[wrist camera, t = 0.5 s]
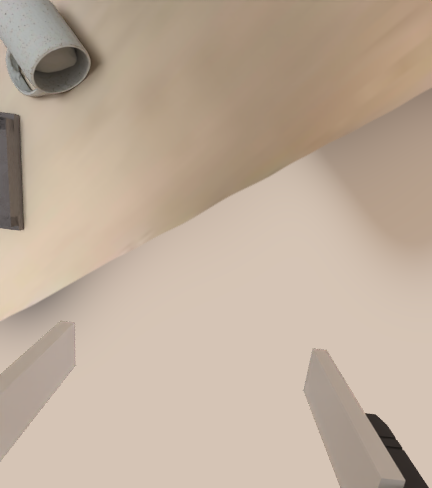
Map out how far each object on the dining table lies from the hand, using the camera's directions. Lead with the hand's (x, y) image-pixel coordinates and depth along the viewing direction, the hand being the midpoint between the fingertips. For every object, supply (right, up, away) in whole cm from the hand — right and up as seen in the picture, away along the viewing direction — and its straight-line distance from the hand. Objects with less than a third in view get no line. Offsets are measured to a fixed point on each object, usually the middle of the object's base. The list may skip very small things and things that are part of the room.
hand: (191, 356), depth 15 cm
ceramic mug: (-20, +30, +21) cm, 42 cm away
